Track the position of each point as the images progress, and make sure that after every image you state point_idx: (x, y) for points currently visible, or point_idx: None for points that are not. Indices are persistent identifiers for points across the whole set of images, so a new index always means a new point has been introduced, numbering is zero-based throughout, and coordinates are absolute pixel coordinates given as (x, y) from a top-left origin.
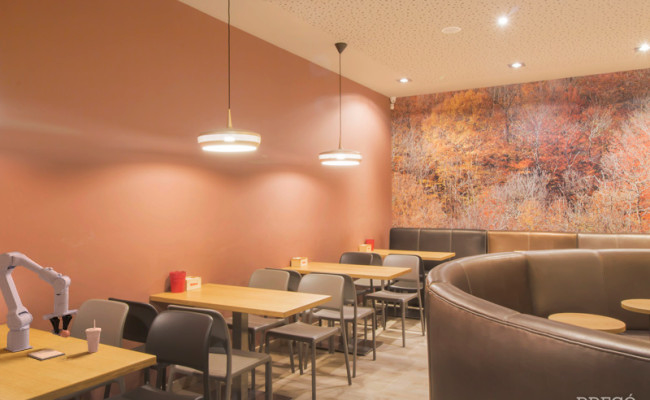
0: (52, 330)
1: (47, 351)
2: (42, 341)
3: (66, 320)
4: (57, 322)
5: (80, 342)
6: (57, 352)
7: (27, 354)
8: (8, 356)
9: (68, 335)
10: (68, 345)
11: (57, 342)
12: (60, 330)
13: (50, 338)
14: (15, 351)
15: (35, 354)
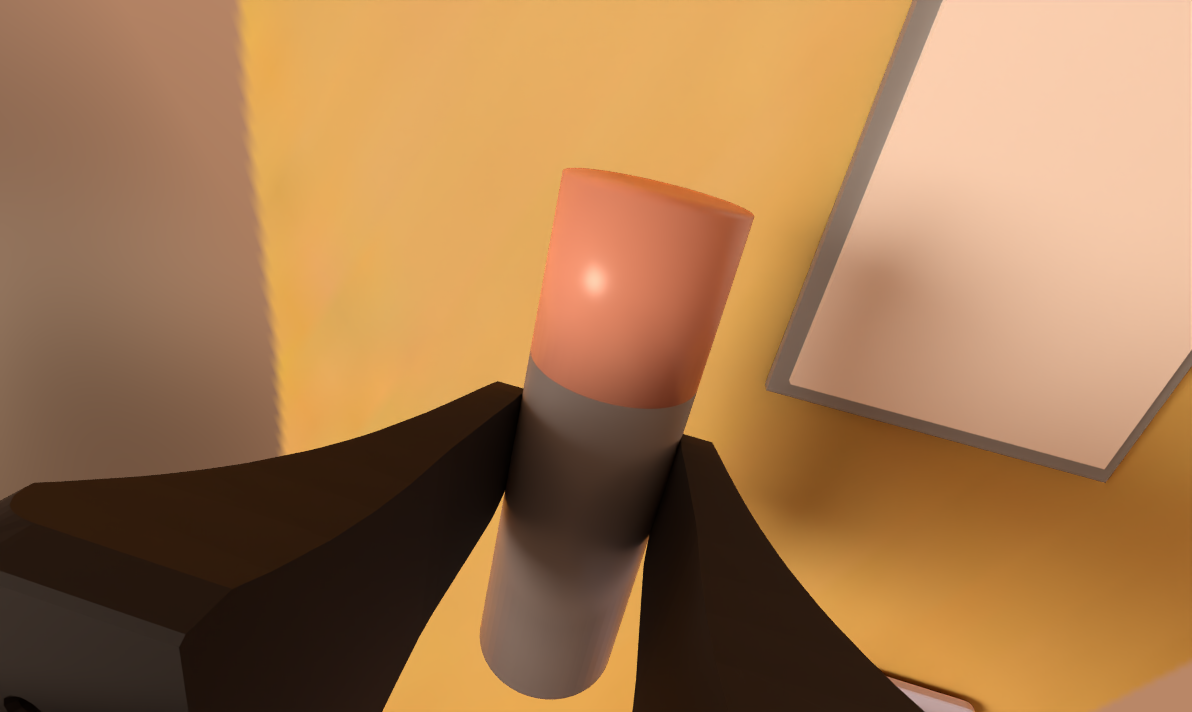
0: (604, 665)
1: (941, 291)
2: (522, 702)
3: (347, 576)
4: (816, 681)
5: (342, 279)
6: (977, 46)
7: (1103, 475)
8: (1156, 649)
9: (606, 176)
10: (509, 319)
11: (479, 547)
12: (635, 450)
13: (417, 701)
14: (957, 699)
15: (1147, 336)
